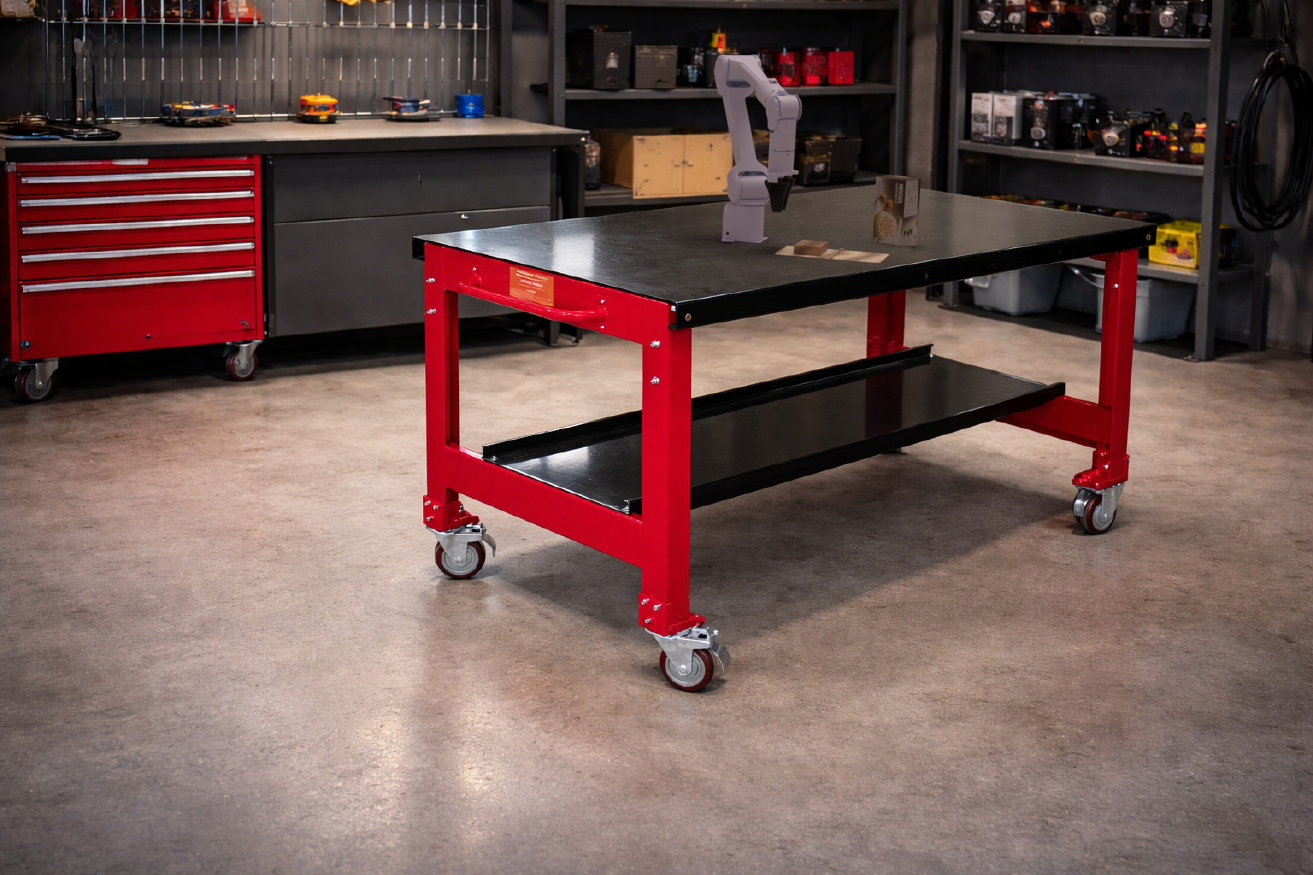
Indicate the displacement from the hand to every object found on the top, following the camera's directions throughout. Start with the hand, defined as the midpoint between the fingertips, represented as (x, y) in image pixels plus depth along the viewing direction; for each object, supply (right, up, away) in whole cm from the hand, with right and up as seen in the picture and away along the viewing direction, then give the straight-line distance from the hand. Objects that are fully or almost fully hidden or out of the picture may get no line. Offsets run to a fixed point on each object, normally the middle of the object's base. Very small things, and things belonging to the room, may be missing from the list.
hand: (778, 211), depth 310 cm
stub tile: (+7, -9, 0) cm, 12 cm away
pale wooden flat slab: (+12, -11, -1) cm, 16 cm away
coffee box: (+29, -6, +17) cm, 34 cm away
